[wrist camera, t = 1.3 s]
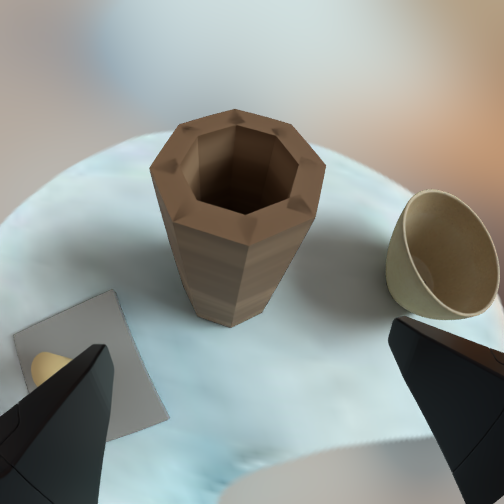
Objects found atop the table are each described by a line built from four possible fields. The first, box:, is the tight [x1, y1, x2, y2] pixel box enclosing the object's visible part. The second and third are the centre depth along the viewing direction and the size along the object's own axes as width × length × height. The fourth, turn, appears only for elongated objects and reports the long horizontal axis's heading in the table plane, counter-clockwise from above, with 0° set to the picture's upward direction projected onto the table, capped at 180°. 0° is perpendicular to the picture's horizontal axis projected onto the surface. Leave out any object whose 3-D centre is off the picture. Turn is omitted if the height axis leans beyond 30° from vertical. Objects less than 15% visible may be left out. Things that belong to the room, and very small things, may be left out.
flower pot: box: [386, 189, 500, 320], centre depth 21 cm, size 10×10×7 cm
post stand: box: [13, 289, 170, 442], centre depth 15 cm, size 10×10×5 cm
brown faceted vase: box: [149, 109, 326, 328], centre depth 16 cm, size 6×6×13 cm
